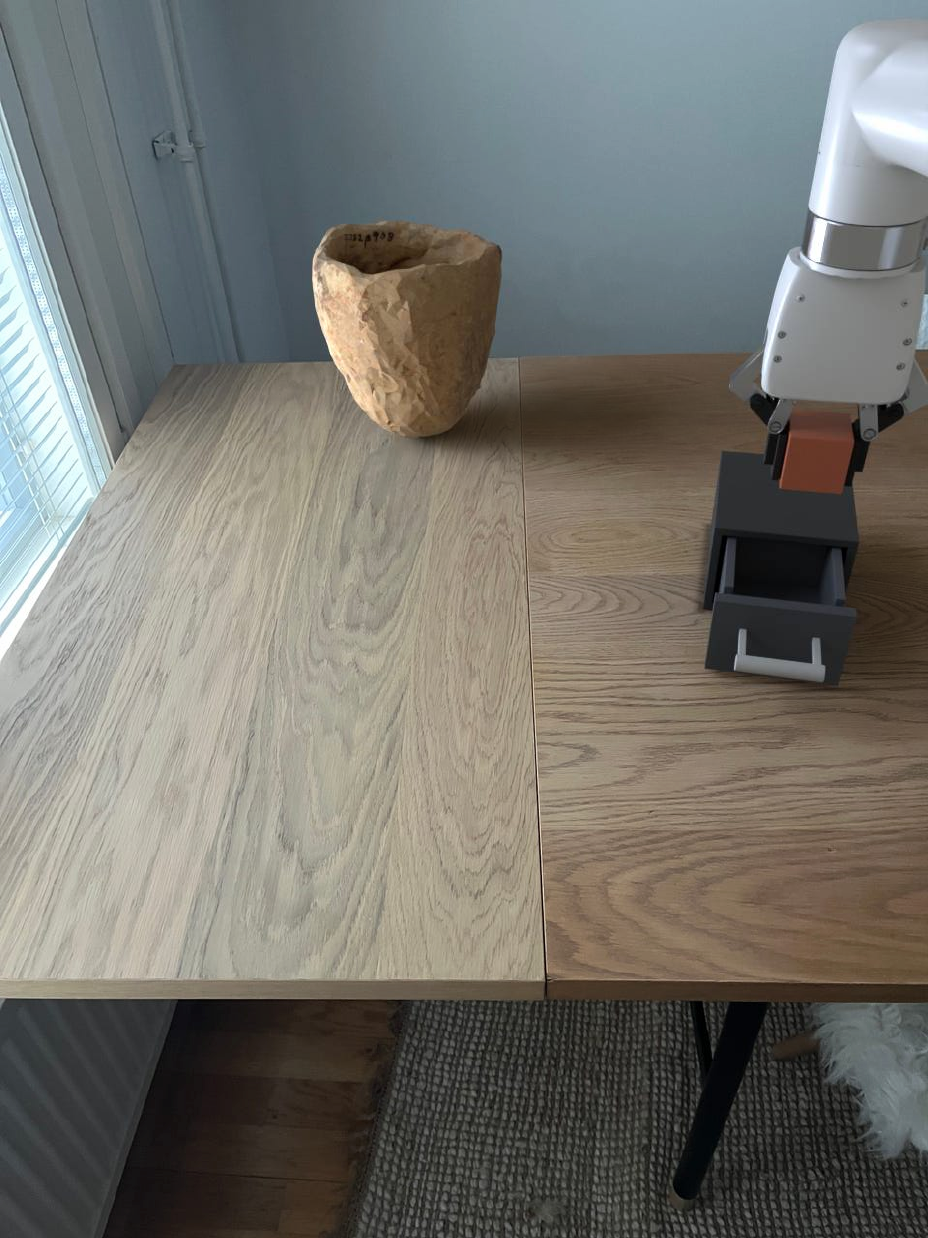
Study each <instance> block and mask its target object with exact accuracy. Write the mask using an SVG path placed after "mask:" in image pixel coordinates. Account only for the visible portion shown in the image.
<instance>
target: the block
mask: <svg viewBox="0 0 928 1238" xmlns="http://www.w3.org/2000/svg"><path fill="white" fill-rule="evenodd" d="M852 422H853V421H852V415H851V413H849V412H838V411H821V410H808V409H807V410H806V409H795V408H794V409H793V411H792V413H791V415H790V417H789V419H788V443H787V448H786V453H785V458H784V463H783V468H782V474H781V478H780V489H786V490H798V491H809V492H820V493H832V494H842V491H843V487H844V483H845V479H846V474H847V470H848V466H849V462H850V458H851V454H852V450H853V446H854V435H853V428H852Z"/></svg>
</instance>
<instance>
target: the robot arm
mask: <svg viewBox="0 0 928 1238" xmlns="http://www.w3.org/2000/svg"><path fill="white" fill-rule="evenodd" d="M814 167H815V168H814V173H813V177H812V184H811V188H810V195H809V201H808V207H807V211H806V217H805V222H804V227H803V232H802V239H801V245H800V246H796V247H793V248H791V249H790V250H789V251H788V253H787V255H786V258H785V259H784V262H783V265H782V267H781V270H780V274H779V276H778V280H777V283H776V286H775V290H774V294H773V298H772V302H771V306H770V311H769V315H768V319H767V324H766V329H765V333H764V338H763V343H762V345H761V346H760V347H758V349H756V350H755V352H753V353H752V355H751V356H749V358H747V359H746V361H745V362H743V364H741V365H740V366H739V367H738V369H736V370H735V371H734V372H733V373H732V374H731V375H730V377H729V379H728V389H729V391H730V392H731V393H732V394H734V395H735V396H736V397H737V398H738V399H740V400H741V401H742V402H744V403H746V404H747V405H748V406H749V407H750V409H751V411H752V412H753V413H754V414H756V416H757V418H759V419H760V420H761V422H762V423H763V424H764V425H765V426H766V428H767V435H766V441H765V447H764V451H763V454H764V462H763V463H764V464H766V465H771V480H777V481H778V479H780V478H781V474H782V468H783V463H784V458H785V453H786V448H787V443H788V419H789V417H790V415H791V413H792V411H793V409H795V407H796V405H797V403H798V401H807V402H818V403H819V402H820V403H833V404H835V403H837V404H849V405H856V406H857V418H856V419H854V421H852V428H853V435H854V446H853V450H852V454H851V458H850V462H849V466H848V470H847V474H846V479H845V483H844V486H847V487H851V485H852V482H853V481H854V477H855V473H863V472H864V469H865V464H866V460H867V457H868V453H869V449H870V446H871V442H873V441H874V440H876V439H877V438H878V436H879V434H880V433H881V432H883V431H885V430H886V429H887V428H890V427H891V426H892V425H894V424H895V423H897V422H899V421H901V420H902V418H904V417H905V415H909V414H912V413H914V412H916V411H918V410H921V409H922V408H925V407H926V406H928V380H927V378H926V376H925V375H924V373H923V371H922V369H921V368H920V365H919V363H918V361H917V359H916V357H915V355H916V349H917V344H918V339H919V333H920V327H921V322H922V321H921V320H922V315H923V309H924V301H925V292H926V280H927V279H926V276H927V260H926V259H927V258H926V257H925V256H924V255H923V251H926V249H927V246H928V18H927V19H926V18H891V19H890V18H889V19H880V20H879V19H878V20H873V21H867V22H864V23H862V24H859V25H856V26H854V27H853V28H852V29H850V30H849V31H848V32H847V33H846V34H845V35H844V36H843V38H842V40H841V41H840V43H839V45H838V48H837V50H836V54H835V58H834V62H833V67H832V73H831V79H830V83H829V89H828V95H827V101H826V106H825V111H824V117H823V123H822V128H821V135H820V139H819V145H818V150H817V156H816V161H815V166H814ZM760 376H761V380H760V381H761V387H759V386H758V384H757V383H756V382H755V381H756V380H757V379H758V378H759V377H760Z"/></svg>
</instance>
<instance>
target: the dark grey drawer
mask: <svg viewBox="0 0 928 1238" xmlns="http://www.w3.org/2000/svg"><path fill="white" fill-rule="evenodd" d="M846 597H847V595H845V585H844V573H843V562H842V551H841V547H836V546H826V545H816V544H806V543H796V542H786V541H776V540H766V539H756V538H746V537H736V536H726V541H725V547H724V554H723V560H722V566H721V573H720V579H719V592H718V593H715V599H714V605H713V610H712V612H711V619H710V625H709V632H708V637H707V639H708V640H707V644H706V651H705V658H704V667H703V669H704V670H709V671H710V670H711V671H718V672H725V673H733V674H740V675H741V674H743V675H748V676H749V675H750V676H755V677H756V676H757V677H765V678H771V679H779V680H786V681H794V682H795V681H796V682H802V683H811V684H817V685H826V686H833V687H839V684H840V681H841V680H840V679H841V676H842V672H843V669H844V665H845V662H846V658H847V655H848V650H849V647H850V644H851V641H852V637H853V633H854V630H855V627H856V622H857V619H858V613H857V612H858V611H857V608H856V607H847V606H846V605H845V604H846V601H847V598H846Z"/></svg>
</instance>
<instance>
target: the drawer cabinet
mask: <svg viewBox="0 0 928 1238" xmlns="http://www.w3.org/2000/svg"><path fill="white" fill-rule="evenodd" d="M763 462H764V453H755V452H743V451H730V450H721V453H720V460H719V467H718V472H717V481H716V486H715V487H716V488H715V494H714V495H715V496H714V501H713V508H712V515H711V523H710V529H709V531H710V532H709V541H708V549H707V550H708V551H707V561H706V571H705V582H704V590H703V591H704V592H703V602H702V609H703V610H704V609H705V610H712V611H713V605H714V599H715V593H718V592H719V579H720V573H721V566H722V560H723V554H724V547H725V541H726V536H736V537H746V538H756V539H766V540H776V541H786V542H796V543H806V544H816V545H826V546H836V547H841V551H842V562H843V573H844V585H845V596H847V595H846V594H847V590H848V587H849V583H850V579H851V575H852V573H853V569H854V565H855V560H856V557H857V552H858V548H859V544H860V536H859V535H860V534H859V527H858V519H857V509H856V501H855V500H856V499H855V491H854V485H853V482H852V485H851V487H847V486H844V487H843V491H842V494H832V493H820V492H809V491H798V490H786V489H780V479H778V481H777V480H771V465H766V464H764V463H763Z"/></svg>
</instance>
